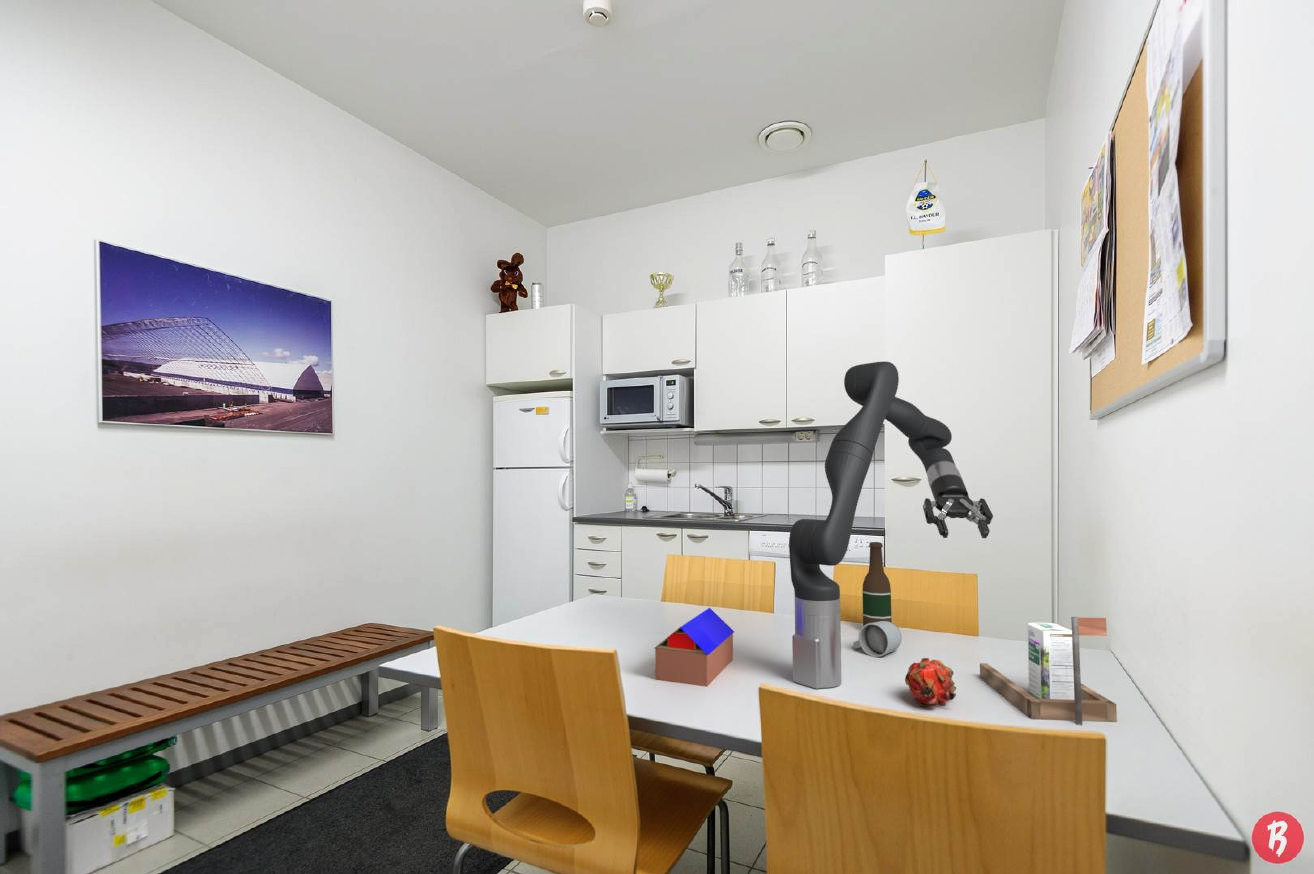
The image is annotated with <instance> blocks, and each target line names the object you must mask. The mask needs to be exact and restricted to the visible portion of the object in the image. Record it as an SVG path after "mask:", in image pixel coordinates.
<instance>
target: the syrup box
mask: <svg viewBox="0 0 1314 874" xmlns="http://www.w3.org/2000/svg"><path fill="white" fill-rule="evenodd" d="M1027 650H1028V651H1027V652H1028V653H1027V655H1028V659H1027V660H1028V666H1027V669H1028V693H1029V694H1030V695H1031V696H1033V697H1034V698H1036V699H1064V700H1074V674H1073V648H1072V629H1071V630H1070V629H1068V628H1065V627H1063V626H1061V625H1060V624H1057V623H1051V622H1028V623H1027Z"/></svg>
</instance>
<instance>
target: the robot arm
mask: <svg viewBox="0 0 1314 874" xmlns="http://www.w3.org/2000/svg"><path fill="white" fill-rule="evenodd" d="M899 376H900V375H899V371H898V369H897V366H896V365H895V364H894V363H892V362H891V361H890V362H889V361H875V362H874V361H873V362H867V363H862V364H858V365H854V366H851V367H850V368H849V369H848V370H847V371H846V372H845V376H844V379H843V385H844V389H845V392H846V395H847V396H848V397H849V398H850V399H851V400H852V401H853V402H855V403H856V404H858V405H860V406H861V408H860V409H859V411H858V412H856V414H854V416H853V417H852V418H851V419H850V420H849V421H848V422H846V423H845V424H844V426H842V428H841V429H840V430H839V431H838V432H837V433H836V434H835V435H834V437H833V439H832V441H831V444H830V447H829V449H828V452H827V456H826V458H825V462H824V471H825V477H826V479H827V482H828V486H829V488H830V492H831V504H830V509H829V513H828V515H827V516H826V518H825V519H811V518H801V519H798V520H797V521H795V522H794V523H793V525H792V527H791V529H790V532H789V537H788V553H789V566H790V579H791V584H792V586H793V592H794V634H793V635H792V636H791V637H792V639H791V640H792V641H791V642H792V646H791V647H792V682H795V683H797V684H801V685H803V686H807V687H810V688H813V689H817V690H819V689H821V688H822V689H823V688H835V687H838V686H840V685H841V684H842V682H843V681H842V640H841V639H842V638H841V637H842V635H841V632H842V631H841V591H840V589H841V588H840V585H839V584H838V583H837V582H836V581H835V580H833V579H831V578H830V577H828V576H827V575H826V574H825V573H824V572H823V570H822V569H821V566H820V565H822V566H828V567H830V566H831V567H832V566H838V565H839V564H841V562H842V561H843V560H844V559H845V555H846V554H847V551H848V548H849V544H850V540H851V535H852V529H853V524H854V519H855V515H856V511H857V507H858V504H859V503H858V502H859V500H860V496H861V493H862V489H863V485H864V482H865V479H866V477H867V474H868V471H869V468H870V464H871V462H872V459H873V455H874V452H875V449H876V444H877V441H878V439H879V436H880V432H881V431H882V428H883V425H884V422H885V420H886V421H887V422H889V423H890V424H892V426H894V427H895V428H896V429H897V430H899V432H901V433H902V434H903V435H904V436H905V437H907V438H908V441H907V443H908V446H909V448H910V450H912V452H913V453H914V454H915V455H916V456H917V457H918V458H919V460H920V461H921V462H922V465H923V467H924V471H925V473H926V477H927V481H928V486H929V488H930V491H931V493H932V496H933V500H934V501H933V500H932V501H931V499H930V498H927V497H926V498H925V499H924V501H923V505H922V508H923V513H924V516H925V521H926V523H927V524H928V525H931V524H934V525H935V526H936V528H937V530H938V534H939V535H940V536H941V537H942V538H943V539H946V538H948V536H949V533H950V532H949V529H948V526H947V524H946V521H945V520H946V519H947V517H948V518H950V519H956V518H958V519H966V520H968V521H969V522H970V523H971V522H973V523H974V524H976V525H977V528H978V532H979V533H980V536H981V538H982V539H987V537H988V536H989V534H990V531H991V530H990V528H989V526H988V525H990V524H991V522H992V520H993V518H994V514H993V512H992V511H991V508H990V506H989V505H988V503H987V500H986V499H984V498H980V499H979V500H973V499H971V498H970V496H969V493H968V490H967V487H966V484H965V482H964V479H963V477H962V475H961V473H960V471H959V469H958V468H957V466H956V463H955V461H954V459H953V456H952V454H951V452H950V451H949V450H948V449H947V448H945V447H947V446H948V445H950V443H951V441H952V437H953V435H952V432H951V430H950V429H949V427H948V426H947V425H946V424H945V423H944V422H942V421H940V420H938V419H935V418H933V417H929V416H927V415H925V413H924V412H922V411H921V410H920V408H918V406H916V405H914V404H912V403H911V402H909V401H907V400H905V399H902V398H900V397H897V396H896V395H897V393H898V390H899V389H898V387H899V384H900V383H899V381H900V380H899V379H900V378H899ZM934 508H935V509H936V510H938V511H939V514H938V515H935V514H934ZM969 513H970V514H969Z"/></svg>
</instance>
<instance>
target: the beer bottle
mask: <svg viewBox="0 0 1314 874" xmlns="http://www.w3.org/2000/svg"><path fill="white" fill-rule="evenodd" d="M868 547H869V563H868V564H869V565H868V566H869V567H868V572H867V573H866V575H865V577H864V580H863V582H862V627H863V626H864V625H866V624H868V623H874V622H880V621H887V622H891V623H893V622H892V620H893V619H892V618H893V617H892V589H891V588H892V587H891V582H890V580H889V577H888V576H887V575H886V573H885V570H884V569H885V568H884V561H883V550H882V548H883V543H882V542H878V541H871V542H869V545H868Z"/></svg>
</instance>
